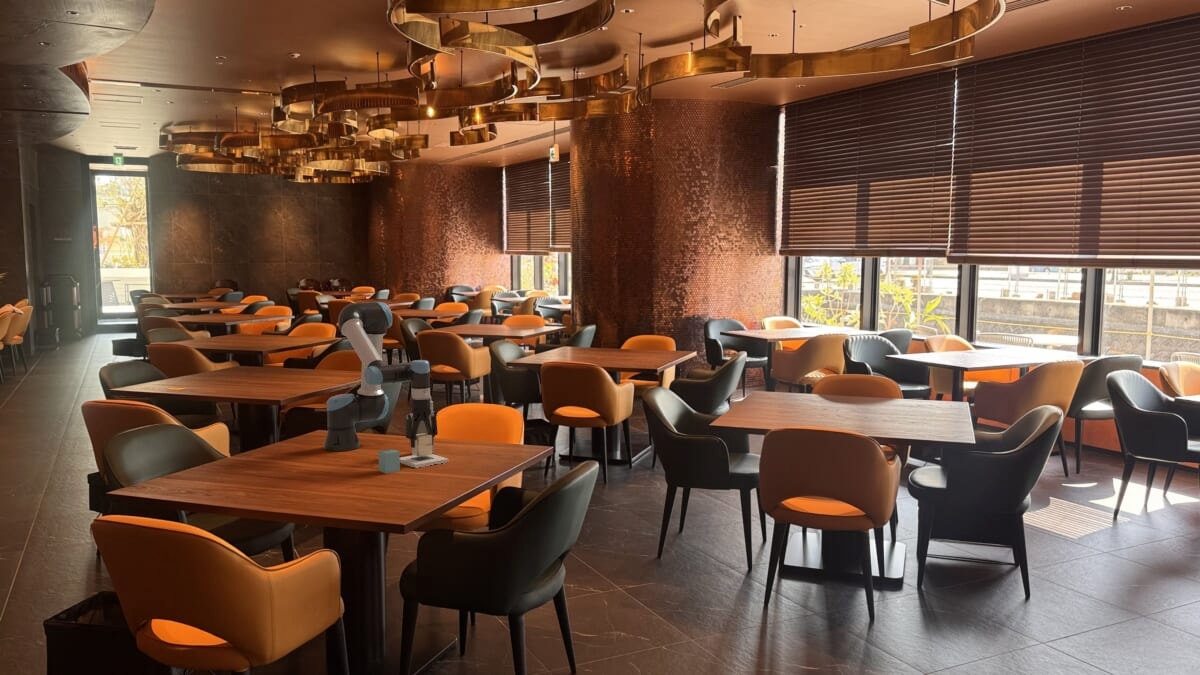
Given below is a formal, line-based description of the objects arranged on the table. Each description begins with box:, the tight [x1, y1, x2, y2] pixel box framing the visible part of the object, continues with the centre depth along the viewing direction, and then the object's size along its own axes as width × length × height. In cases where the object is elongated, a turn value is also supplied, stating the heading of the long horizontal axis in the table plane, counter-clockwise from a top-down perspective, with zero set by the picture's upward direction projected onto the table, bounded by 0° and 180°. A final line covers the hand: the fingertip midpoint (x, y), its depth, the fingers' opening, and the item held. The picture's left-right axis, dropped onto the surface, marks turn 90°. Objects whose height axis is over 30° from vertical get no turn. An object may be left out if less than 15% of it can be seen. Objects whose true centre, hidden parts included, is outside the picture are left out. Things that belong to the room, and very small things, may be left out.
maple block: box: [411, 433, 432, 457], centre depth 369 cm, size 6×6×8 cm
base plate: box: [400, 453, 449, 469], centre depth 369 cm, size 16×15×2 cm
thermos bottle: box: [417, 395, 435, 454], centre depth 385 cm, size 8×8×28 cm
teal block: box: [377, 448, 401, 474], centre depth 354 cm, size 6×6×8 cm
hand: (422, 453), depth 369 cm, fingers closed on maple block, 6 cm apart
